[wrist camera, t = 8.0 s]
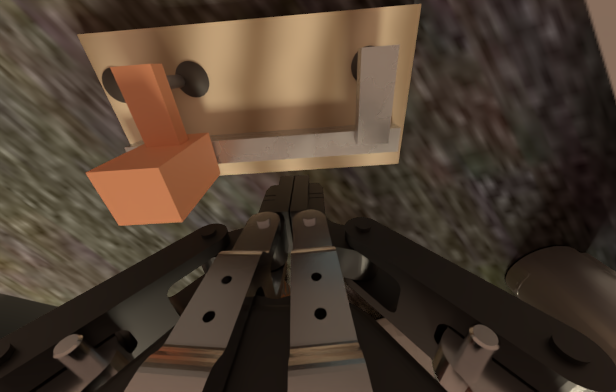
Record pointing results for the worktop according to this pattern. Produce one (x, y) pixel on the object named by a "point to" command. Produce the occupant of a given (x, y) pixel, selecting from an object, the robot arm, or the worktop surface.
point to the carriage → (155, 154)
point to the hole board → (265, 74)
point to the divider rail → (328, 140)
